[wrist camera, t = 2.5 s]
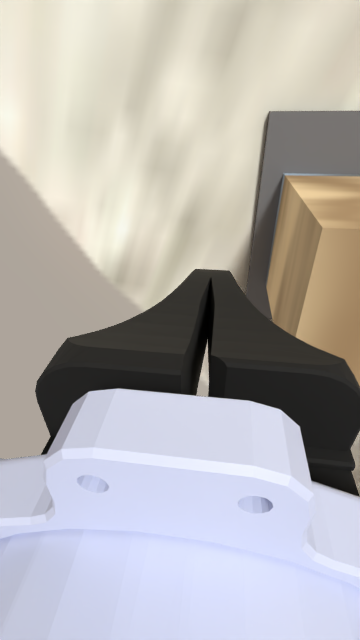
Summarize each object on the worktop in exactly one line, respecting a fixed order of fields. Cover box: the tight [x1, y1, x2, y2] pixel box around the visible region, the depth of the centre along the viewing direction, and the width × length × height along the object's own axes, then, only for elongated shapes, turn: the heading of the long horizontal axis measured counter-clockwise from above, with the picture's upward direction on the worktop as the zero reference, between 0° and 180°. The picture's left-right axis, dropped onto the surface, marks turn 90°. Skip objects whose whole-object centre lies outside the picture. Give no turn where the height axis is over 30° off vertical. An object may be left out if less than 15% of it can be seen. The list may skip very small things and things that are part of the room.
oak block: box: [266, 173, 360, 386], centre depth 14 cm, size 4×6×8 cm, turn 0°
